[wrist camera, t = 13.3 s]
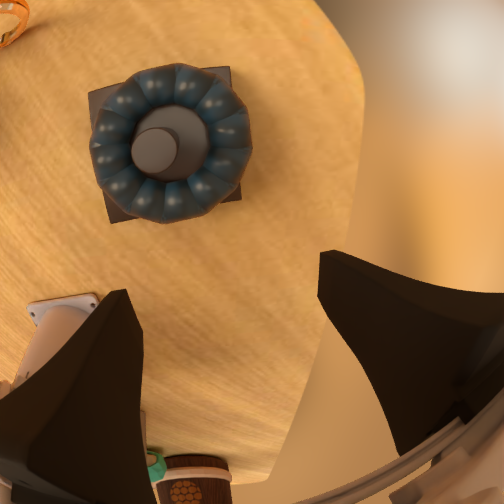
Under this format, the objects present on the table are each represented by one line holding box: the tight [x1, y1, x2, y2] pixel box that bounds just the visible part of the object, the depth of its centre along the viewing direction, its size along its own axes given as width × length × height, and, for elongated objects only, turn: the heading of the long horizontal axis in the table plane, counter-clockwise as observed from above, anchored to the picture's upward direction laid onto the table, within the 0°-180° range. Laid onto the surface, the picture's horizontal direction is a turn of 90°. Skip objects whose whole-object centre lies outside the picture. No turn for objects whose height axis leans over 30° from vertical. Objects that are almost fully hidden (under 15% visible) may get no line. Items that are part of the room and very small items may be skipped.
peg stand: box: [88, 66, 242, 224], centre depth 13 cm, size 9×9×7 cm
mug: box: [151, 456, 232, 504], centre depth 31 cm, size 20×15×15 cm
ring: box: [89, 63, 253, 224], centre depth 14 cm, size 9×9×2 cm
